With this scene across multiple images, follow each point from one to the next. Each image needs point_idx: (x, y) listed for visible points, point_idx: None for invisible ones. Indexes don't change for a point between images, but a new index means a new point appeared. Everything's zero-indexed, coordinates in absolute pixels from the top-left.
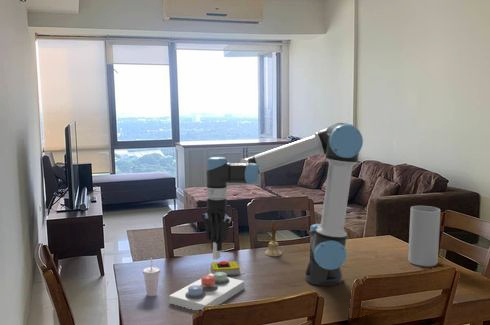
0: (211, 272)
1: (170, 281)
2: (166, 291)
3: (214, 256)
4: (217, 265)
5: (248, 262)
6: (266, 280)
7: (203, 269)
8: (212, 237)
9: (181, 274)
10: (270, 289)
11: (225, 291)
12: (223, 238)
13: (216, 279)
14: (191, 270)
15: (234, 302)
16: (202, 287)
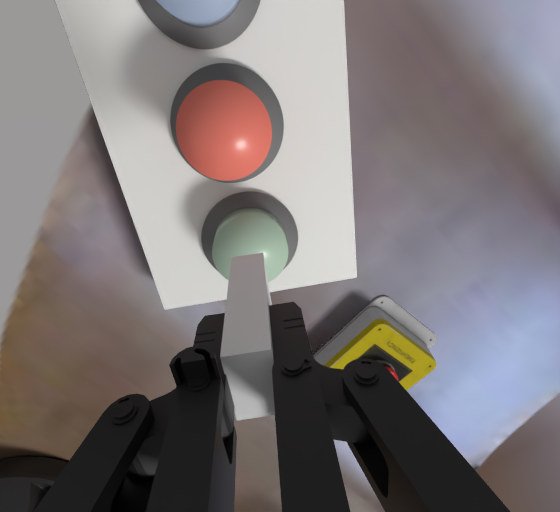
0: (398, 319)
1: (507, 130)
2: (451, 6)
3: (247, 265)
4: (395, 359)
5: (342, 452)
6: (171, 390)
7: (448, 322)
8: (291, 405)
9: (505, 228)
10: (89, 345)
11: (119, 153)
12: (77, 455)
13: (242, 212)
14: (488, 285)
15: (72, 147)
16: (161, 4)
